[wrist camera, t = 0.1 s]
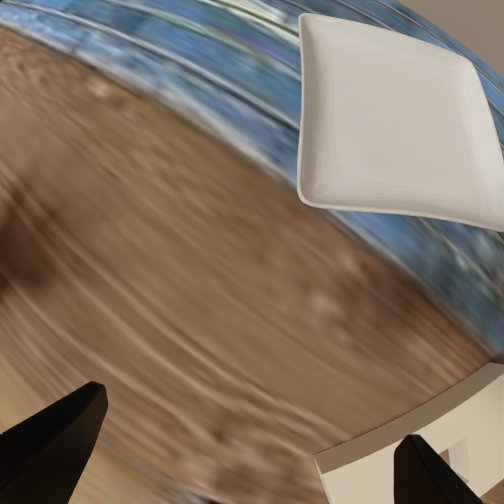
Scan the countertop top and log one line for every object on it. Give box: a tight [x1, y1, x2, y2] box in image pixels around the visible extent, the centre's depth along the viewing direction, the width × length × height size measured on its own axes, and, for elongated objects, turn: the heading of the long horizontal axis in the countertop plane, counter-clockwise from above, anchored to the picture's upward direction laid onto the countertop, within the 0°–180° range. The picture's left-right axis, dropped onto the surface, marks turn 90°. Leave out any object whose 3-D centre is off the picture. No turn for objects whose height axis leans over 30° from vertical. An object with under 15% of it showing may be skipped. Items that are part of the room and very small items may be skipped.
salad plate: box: [297, 13, 504, 233], centre depth 25 cm, size 21×21×3 cm
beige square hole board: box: [313, 363, 504, 504], centre depth 19 cm, size 12×18×4 cm, turn 108°
